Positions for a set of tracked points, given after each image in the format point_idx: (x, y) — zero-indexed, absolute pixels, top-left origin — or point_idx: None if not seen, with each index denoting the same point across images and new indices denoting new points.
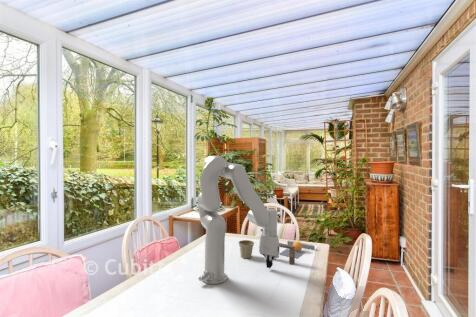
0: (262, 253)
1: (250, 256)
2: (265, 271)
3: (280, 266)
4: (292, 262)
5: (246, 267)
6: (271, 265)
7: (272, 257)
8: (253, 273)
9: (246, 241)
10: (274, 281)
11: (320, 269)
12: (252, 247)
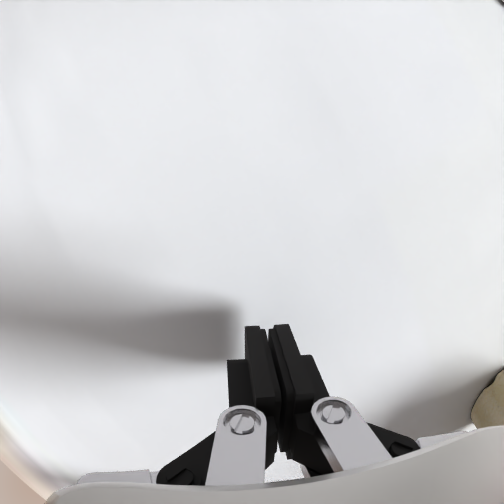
0: (455, 440)
1: (479, 408)
2: (278, 271)
3: None
4: None
5: (480, 238)
6: (227, 370)
7: (202, 471)
8: (376, 130)
9: None
10: (53, 90)
11: (14, 467)
12: None
